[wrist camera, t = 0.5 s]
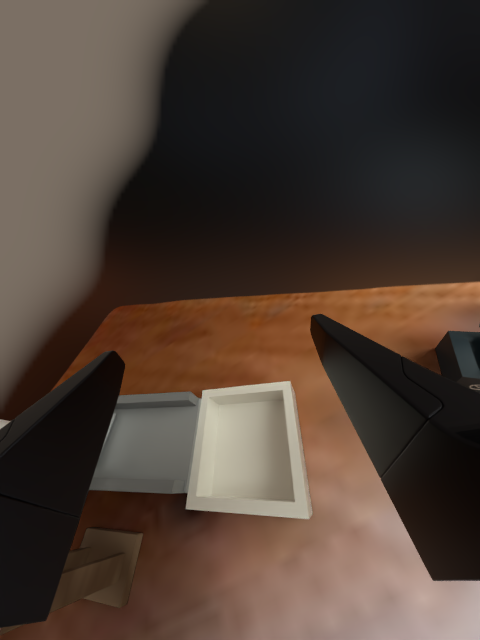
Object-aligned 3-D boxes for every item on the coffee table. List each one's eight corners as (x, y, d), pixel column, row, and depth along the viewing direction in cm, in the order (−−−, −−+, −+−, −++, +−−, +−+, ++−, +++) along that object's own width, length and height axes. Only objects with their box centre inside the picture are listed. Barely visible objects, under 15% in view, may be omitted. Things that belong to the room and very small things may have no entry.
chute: (208, 491, 19) (152, 494, 13) (73, 485, 24) (-11, 485, 18) (216, 408, 24) (177, 383, 18) (102, 417, 29) (43, 400, 23)
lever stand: (127, 603, 16) (-79, 721, 8) (72, 589, 18) (-142, 675, 10) (143, 533, 19) (-1, 569, 11) (93, 526, 21) (-63, 554, 12)
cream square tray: (312, 513, 16) (308, 519, 13) (205, 505, 19) (185, 509, 16) (294, 393, 22) (289, 381, 19) (216, 400, 25) (202, 390, 22)
